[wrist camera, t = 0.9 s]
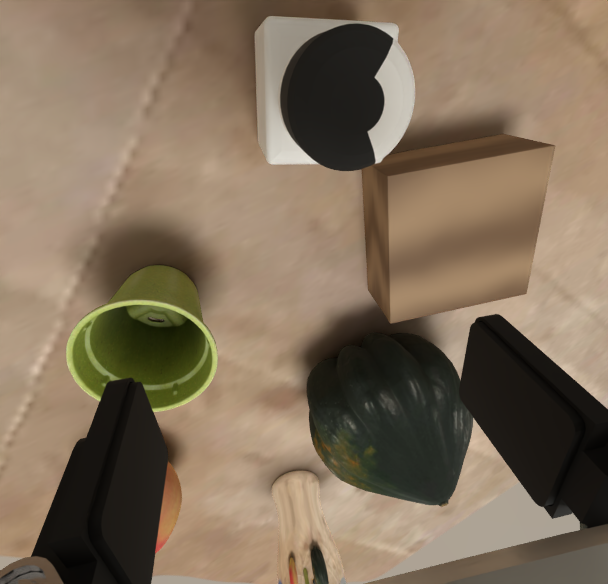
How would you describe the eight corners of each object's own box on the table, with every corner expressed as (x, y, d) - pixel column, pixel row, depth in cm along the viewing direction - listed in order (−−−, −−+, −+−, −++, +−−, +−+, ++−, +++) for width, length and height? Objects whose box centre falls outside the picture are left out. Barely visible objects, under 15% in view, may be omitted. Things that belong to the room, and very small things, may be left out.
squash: (303, 335, 31) (347, 547, 26) (472, 303, 33) (540, 493, 29) (290, 362, 44) (319, 506, 40) (412, 338, 47) (452, 471, 42)
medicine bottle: (257, 145, 28) (277, 187, 18) (254, 28, 25) (276, -2, 15) (351, 145, 30) (419, 184, 19) (360, 33, 26) (449, 9, 16)
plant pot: (229, 258, 32) (231, 314, 25) (207, 347, 36) (203, 418, 29) (107, 233, 30) (69, 287, 22) (98, 332, 34) (62, 407, 26)
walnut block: (360, 158, 31) (387, 176, 25) (501, 133, 32) (555, 145, 26) (367, 288, 37) (390, 323, 32) (485, 263, 38) (526, 293, 33)
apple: (161, 494, 45) (147, 592, 37) (76, 476, 41) (38, 581, 33) (199, 441, 42) (193, 535, 34) (111, 416, 38) (78, 516, 30)
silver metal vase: (281, 463, 46) (303, 613, 34) (331, 471, 49) (369, 612, 36) (259, 499, 49) (272, 650, 36) (307, 504, 52) (335, 648, 39)
